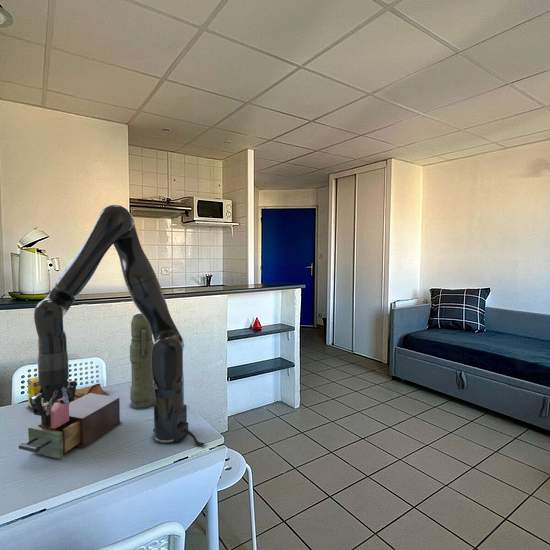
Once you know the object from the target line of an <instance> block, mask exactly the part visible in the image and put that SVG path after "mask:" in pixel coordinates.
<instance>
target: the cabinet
mask: <svg viewBox="0 0 550 550" xmlns="http://www.w3.org/2000/svg"><path fill="white" fill-rule="evenodd" d="M105 395H106V394H105ZM105 395H99V394H93V393H89V394H87V395H85V396H83V397H81V398H79V399H77V400H75V401H73V402H71V403H69V419H74V420H80V421H81V443H79V444H78V445H76V446H75V447H79V448H82V449H83V448H85V447H87V446H88V445H90V444H91V443H93V442H94V441H96V440H97V439H98V438H100V437H101V436H103V435H105V434H106V433H107V432H109V431H111V430H112V429H114V428H115V427H117V426H118V425H120V424H121V403H120V400H121V399H120V397H118V396H111V395H107V396H105Z"/></svg>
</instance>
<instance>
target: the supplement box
mask: <svg viewBox="0 0 550 550" xmlns="http://www.w3.org/2000/svg"><path fill="white" fill-rule="evenodd" d="M40 388H41V387H40V384H39V379H38V376H36V377H32V378H31V377H30V378H27V404H28V405H27V406H28V408H29V409H31V410H32V406H31V403H30V400H29V398H30V397H31V396H36V395H37V394H39V391H40ZM41 400H42V398H41ZM46 402H47V403H49V402H48V401H46Z"/></svg>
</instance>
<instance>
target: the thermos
mask: <svg viewBox="0 0 550 550" xmlns="http://www.w3.org/2000/svg"><path fill="white" fill-rule="evenodd" d="M130 335H131V340H130V346H129V361H130V364H131V365H130V366H131V385H130V391H129V393H130V396H129V397H130V407H131V408H132V409H135V410H142V409H143V410H144V409H148V408H151V407H153V406H154V381H153V377H152V347H153V345H154V343H155V342H154V341H153V340H154V338H153V334H152V331H151V329H150V326H149V324H148V322H147V320H146V319H145V317H144V316H143V315H142V313H136V314H135V315H133V317H132V319H131V322H130Z"/></svg>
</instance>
